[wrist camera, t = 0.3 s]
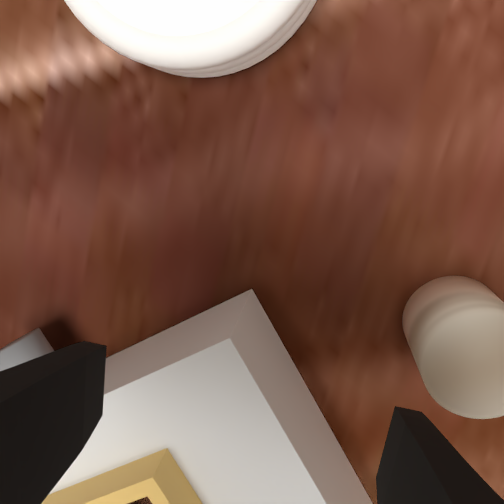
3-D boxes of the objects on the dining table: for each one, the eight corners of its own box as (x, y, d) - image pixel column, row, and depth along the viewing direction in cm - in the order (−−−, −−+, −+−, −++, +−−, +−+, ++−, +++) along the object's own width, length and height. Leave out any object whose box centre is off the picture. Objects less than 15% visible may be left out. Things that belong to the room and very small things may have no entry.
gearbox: (378, 514, 22) (400, 664, 16) (120, 593, 26) (57, 736, 20) (219, 229, 20) (170, 275, 13) (-40, 365, 24) (-169, 449, 17)
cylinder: (516, 341, 19) (566, 394, 15) (425, 376, 20) (449, 434, 16) (479, 259, 18) (520, 293, 14) (386, 299, 19) (402, 340, 15)
